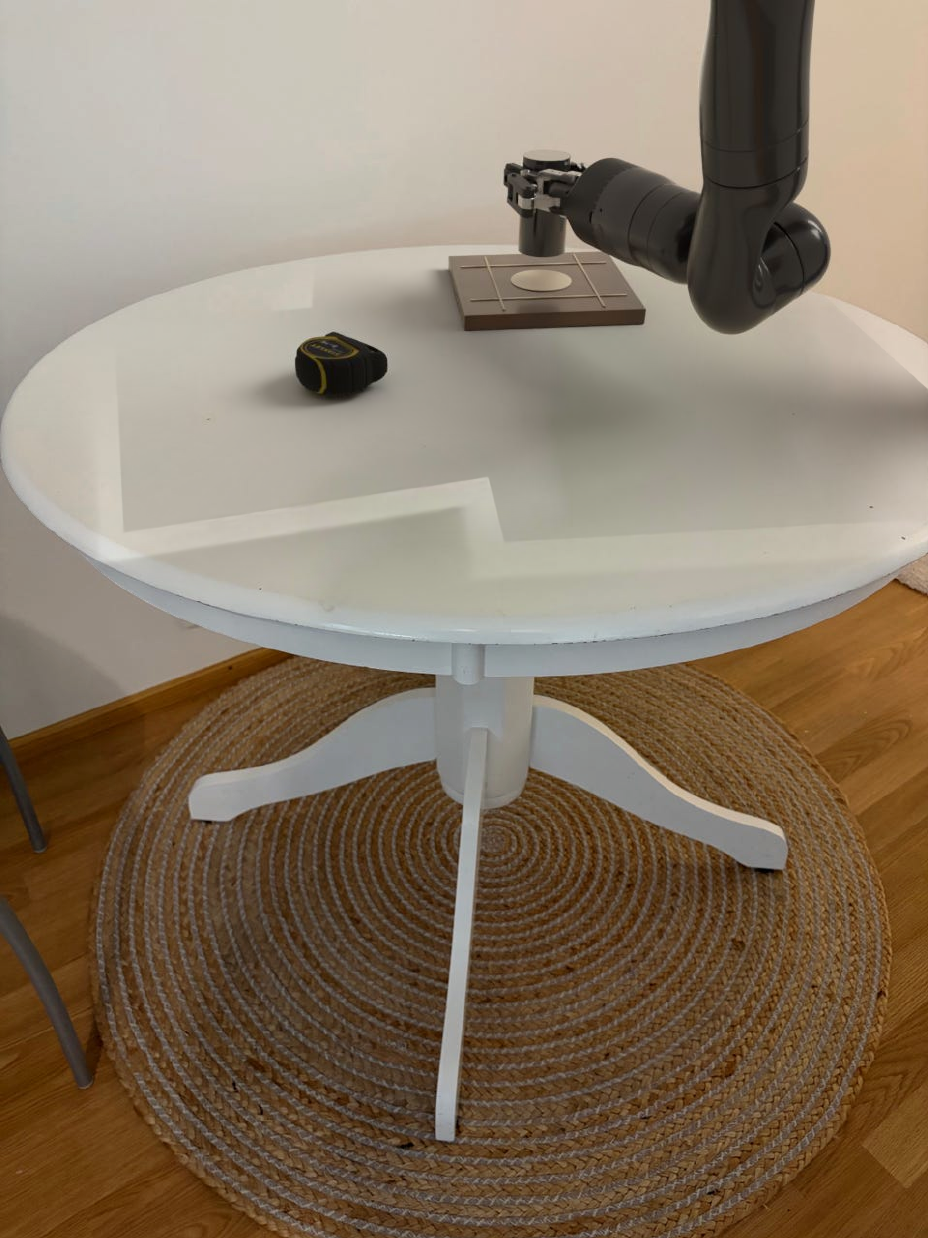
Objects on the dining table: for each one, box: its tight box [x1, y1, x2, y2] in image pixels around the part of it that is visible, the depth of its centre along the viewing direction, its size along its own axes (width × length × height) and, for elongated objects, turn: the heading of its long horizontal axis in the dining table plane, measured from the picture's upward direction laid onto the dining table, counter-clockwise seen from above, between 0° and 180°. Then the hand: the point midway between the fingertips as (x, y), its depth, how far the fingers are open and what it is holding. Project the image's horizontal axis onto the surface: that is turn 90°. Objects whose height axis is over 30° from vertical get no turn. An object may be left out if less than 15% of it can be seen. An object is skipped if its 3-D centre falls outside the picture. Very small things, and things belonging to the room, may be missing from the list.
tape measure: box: [294, 331, 389, 397], centre depth 82 cm, size 7×7×4 cm
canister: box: [517, 149, 572, 257], centre depth 95 cm, size 5×5×9 cm
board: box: [448, 250, 647, 331], centre depth 100 cm, size 18×18×2 cm
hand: (531, 171), depth 96 cm, fingers closed on canister, 4 cm apart
